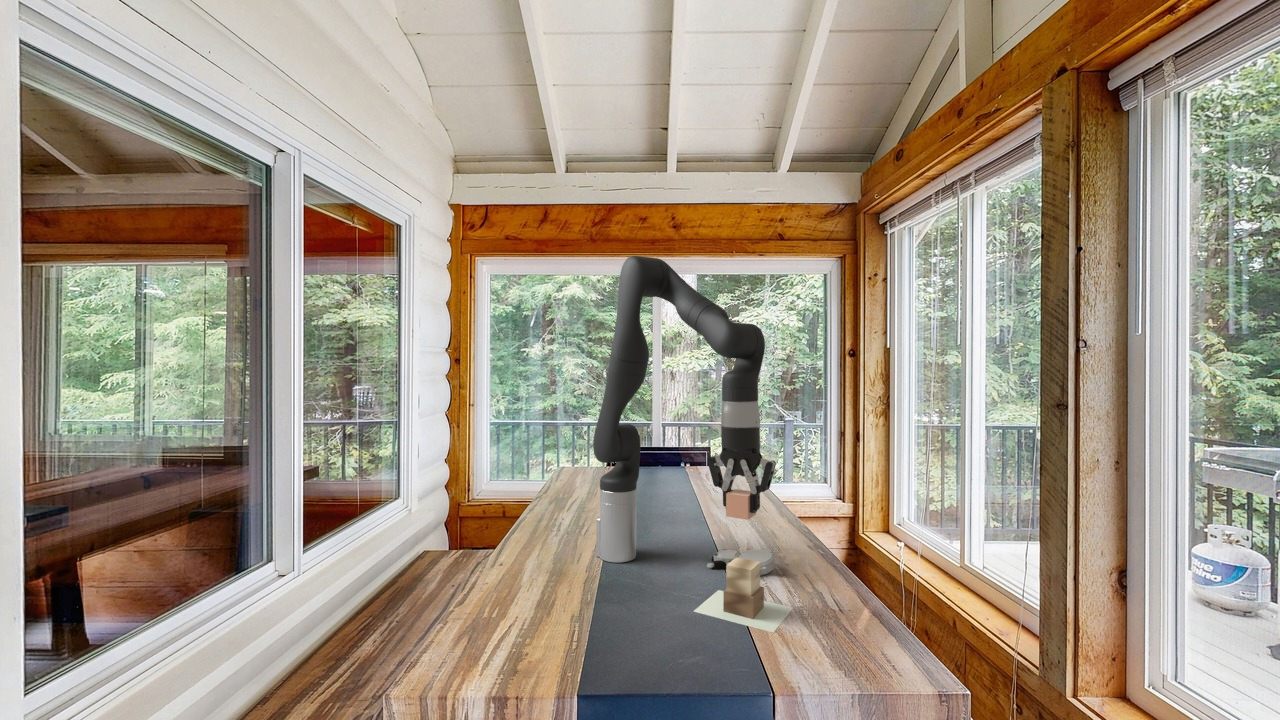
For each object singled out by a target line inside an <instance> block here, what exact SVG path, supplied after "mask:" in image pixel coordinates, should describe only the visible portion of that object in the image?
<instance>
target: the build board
mask: <svg viewBox="0 0 1280 720" xmlns="http://www.w3.org/2000/svg"><path fill="white" fill-rule="evenodd" d="M723 599H724V590H720V589H717V591H716V592H714V593H713V594H712V595H710V596H709V597H708V599H706V600H705V601H704V602H702V603H701V604H700V605H699V606H697V607H696V608H695V609H694V610H693V612H694V613H697V614H701V615H704V616H708V617H712V618H716V619H721V620H723V621H728V622H731V623H734V624H738V625H742V626H747V627H750V628H754V629H757V630H762V631H765V632H769V633H773V634H774V633H775V632H776V630H778V628H779V627H780V625H781V624H782V623H783V621H785V619H786V618H787V616H788V615H789V614H790V613H791V612H792V611H793V609H794V607H792V606H788V605H784V604H779V603H775V602H771V601H768V600H764V608H763V609H762V610H761V611H760V612H759V613H758V614H757V615H756V616H755V618H754V619H750V618H746V617H742V616H738V615H735V614H731V613H727V612H723Z"/></svg>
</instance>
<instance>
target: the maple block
mask: <svg viewBox="0 0 1280 720" xmlns="http://www.w3.org/2000/svg"><path fill="white" fill-rule="evenodd" d="M725 568H726V571H725V572H726V573H725V575H726V579H725V580H726V584H725V586H726V588H725V589H726V591H730V592H734V593H738V594H742V595H747V596H752V595H753V594H754V593H755V592H756V591H757V590H758V589H759V588H760V586H761V576H760V562H757V561H752V560H747V559H742V558H737V557H736V558H735V559H734V560H732V561H731V562H730V563H728V564H727V565H726V567H725Z"/></svg>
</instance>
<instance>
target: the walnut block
mask: <svg viewBox="0 0 1280 720" xmlns="http://www.w3.org/2000/svg"><path fill="white" fill-rule="evenodd" d="M723 591H724V599H723V612H727V613H731V614H735V615H738V616H742V617H746V618H750V619H754V618H755V616H756V615H757V614H758V613H759V612H760V611H761V610H762V609H763V608H764V601H765V586H761V585H760V588H759V589H758V590H757V591H756V592H755V593H754V594H753V595H752V596H747V595H742V594H738V593H734V592H730V591H726V588H725V589H724V590H723Z"/></svg>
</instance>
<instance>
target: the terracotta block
mask: <svg viewBox="0 0 1280 720" xmlns="http://www.w3.org/2000/svg"><path fill="white" fill-rule="evenodd" d="M731 490H732V491H730V492H728V493H726V508H725V517H729V518H735V519H741V520H747V521H748V520H750V519H751V518H753V517H754V516H756V515H757V512H756V513H750V494H751V490H745V489H744V490H743V489H737V488H734V489H731Z"/></svg>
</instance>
